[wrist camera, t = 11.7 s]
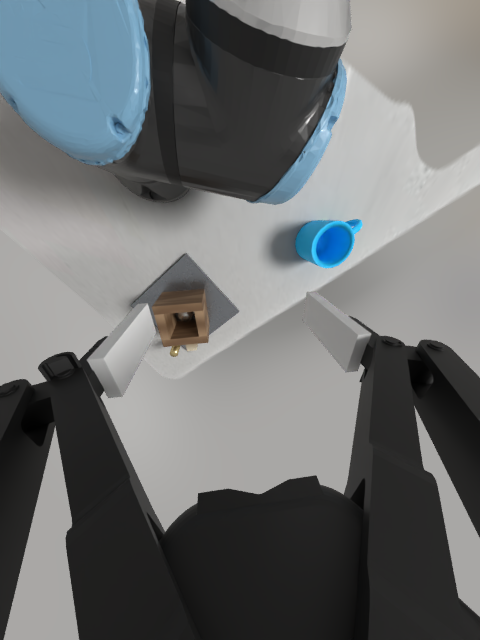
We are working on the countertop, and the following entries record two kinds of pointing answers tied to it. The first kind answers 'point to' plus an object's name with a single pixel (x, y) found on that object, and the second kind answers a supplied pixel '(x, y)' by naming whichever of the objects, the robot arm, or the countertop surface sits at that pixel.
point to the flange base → (191, 278)
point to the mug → (327, 241)
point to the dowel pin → (174, 350)
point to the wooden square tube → (180, 330)
